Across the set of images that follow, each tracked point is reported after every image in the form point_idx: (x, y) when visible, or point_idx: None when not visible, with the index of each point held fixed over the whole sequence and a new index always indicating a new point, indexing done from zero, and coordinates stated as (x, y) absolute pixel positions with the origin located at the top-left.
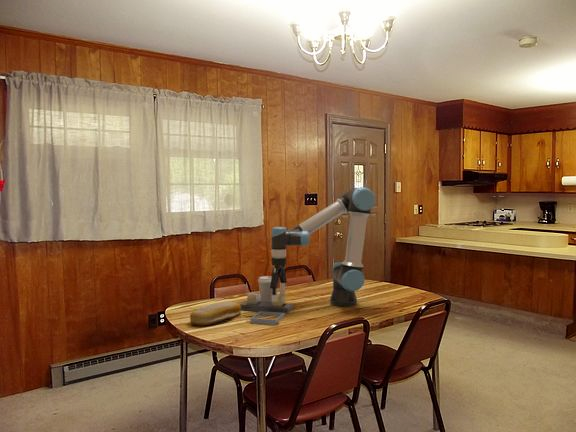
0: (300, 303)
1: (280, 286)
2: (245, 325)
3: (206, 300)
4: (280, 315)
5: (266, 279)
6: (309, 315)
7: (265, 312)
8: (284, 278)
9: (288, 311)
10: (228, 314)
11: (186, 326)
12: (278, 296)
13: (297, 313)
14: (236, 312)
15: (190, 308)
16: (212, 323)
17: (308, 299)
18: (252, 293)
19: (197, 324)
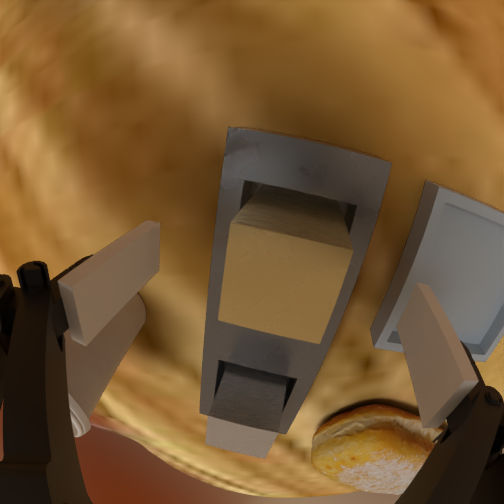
0: (64, 119)
1: (109, 313)
2: (494, 355)
3: (154, 451)
4: (488, 216)
5: None
6: (347, 7)
7: (399, 315)
8: (20, 335)
9: (363, 153)
10: (427, 435)
11: None
12: (337, 292)
13: (304, 85)
14: (397, 424)
15: (249, 480)
16: None
17: (12, 106)
18: (230, 442)
19: None
